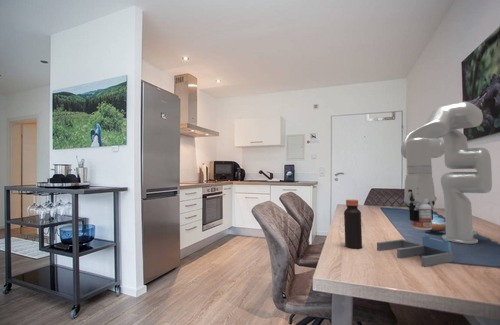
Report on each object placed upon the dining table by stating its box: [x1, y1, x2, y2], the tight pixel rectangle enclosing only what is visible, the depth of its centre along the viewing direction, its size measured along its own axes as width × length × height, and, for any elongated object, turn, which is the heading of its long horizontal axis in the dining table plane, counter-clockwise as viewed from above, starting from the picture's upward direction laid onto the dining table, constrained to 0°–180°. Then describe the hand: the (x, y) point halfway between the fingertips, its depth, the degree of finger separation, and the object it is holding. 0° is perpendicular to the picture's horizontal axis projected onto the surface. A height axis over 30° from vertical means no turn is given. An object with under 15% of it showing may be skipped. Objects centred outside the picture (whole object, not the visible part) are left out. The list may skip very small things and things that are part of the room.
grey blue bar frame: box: [376, 233, 454, 268], centre depth 93 cm, size 14×20×8 cm
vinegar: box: [343, 199, 363, 250], centre depth 105 cm, size 7×7×20 cm
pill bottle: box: [410, 199, 433, 231], centre depth 89 cm, size 6×6×11 cm
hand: (421, 219), depth 89 cm, fingers closed on pill bottle, 6 cm apart
